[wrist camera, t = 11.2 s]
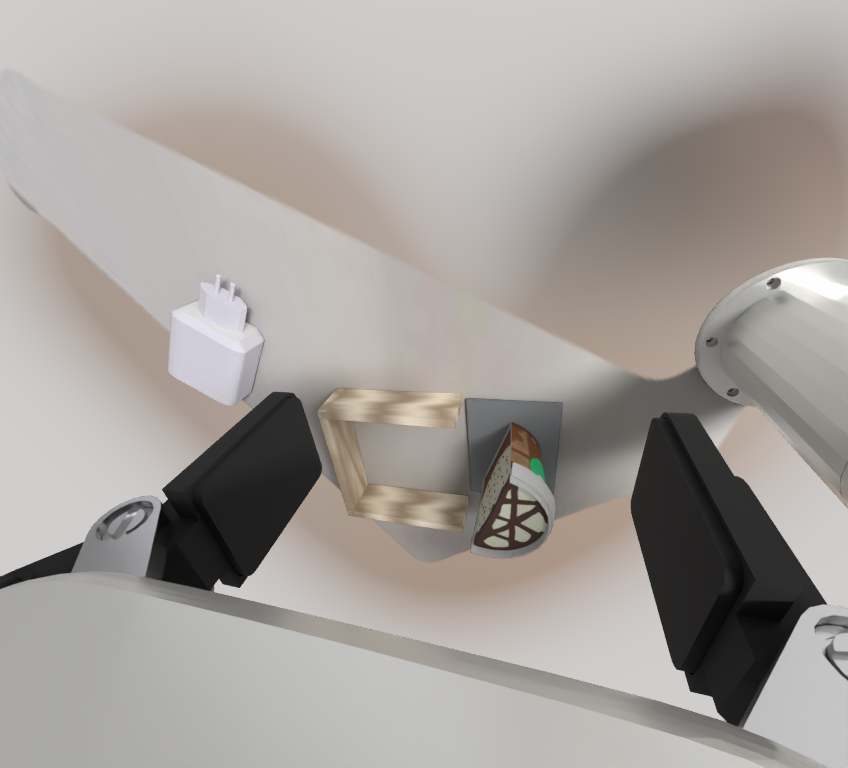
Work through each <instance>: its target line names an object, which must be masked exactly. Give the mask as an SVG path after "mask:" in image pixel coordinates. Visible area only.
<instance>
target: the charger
mask: <svg viewBox="0 0 848 768" xmlns="http://www.w3.org/2000/svg"><path fill="white" fill-rule="evenodd" d="M220 282H221V276H220V275H219V274H217V275H216V278H215V285H212V284H208V283H200V292H199V300H197V301H194V302H192V303H189V304H187V305H184V306H182V307H179V308H177V309H174V310H172V311H171V327H170V346H169V365H168V371H169V373H170V374H171V375H173V376H174V377H175V378H177V379H179V380H181V381H183V382H184V383H186V384H188V385H189V386H191V387H193V388H195V389H197V390H198V391H200V392H202V393H204V394H205V395H207V396H209V397H211V398H213V399H215V400H216V401H218V402H220V403H222V404H225V405H229V406H234V405H236V404H237V403H238V402H239V401H241V400H242V399H243V398H244V397H246V396H247V395H248V394H249V393H251V391H252V387H253V383H254V379H255V375H256V371H257V367H258V363H259V359H260V354H261V350H262V346H263V342H264V339H263V337H262V336H261V334H260V333H259V331H258V330H257V328H255V327H254V326H252V325H250V324H249V323H247V322H245V318H246V313H247V305H246V304H245V303H244V302H243V301H242V299H241V298H239V297H238V296H236V295H234V292H235V286H236V285H235V283H230V289H229V291H227V290H226V289H224V288H222V287H220Z"/></svg>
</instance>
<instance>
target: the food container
mask: <svg viewBox="0 0 848 768" xmlns="http://www.w3.org/2000/svg"><path fill="white" fill-rule="evenodd" d="M555 514H556V504H555V499H554V497H553V495H552V492H551V491H550V489H549V488H548V486H547V485H546V483H545V476H544V469H543V462H542V455H541V450H540V446H539V444H538V442H537V440H536V439H535V437H534V436H533V435H532V434H531V433H530V432H529V431H528V430H526V429H525V428H523V427H522V426H520V425H518V424H516V423H513V422H511V424H510V427H509V429H508V431H507V433H506V435H505V437H504V439H503V441H502V443H501V445H500V447H499V449H498V451H497V453H496V455H495V457H494V459H493V461H492V463H491V465H490V467H489V469H488V471H487V473H486V475H485V477H484V481H483V487H482V492H481V497H480V503H479V508H478V513H477V519H476V524H475V529H474V535H473V537H472V539H471V551H470V552H471V553H474V554H477V555H482V556H485V557H491V558H514V557H520V556H524V555H527V554H529V553H531V552H533V551H535V550H537V549H538V548H539V547H541V545H542V544H543V543H544V542H545V541H546V539H547V538H548V536H549V534H550V532H551V530H552V527H553V523H554V518H555Z"/></svg>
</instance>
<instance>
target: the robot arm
mask: <svg viewBox="0 0 848 768" xmlns="http://www.w3.org/2000/svg"><path fill="white" fill-rule="evenodd" d="M769 280H771V281H770V282H769V283H767V282H768V281H769ZM709 338H710V339H709ZM707 339H709V340H707ZM694 354H695V360H696V366H697V368H698V370H699V372H700V375H701V376H702V378H703V379H704V380H705V382H706V383H707V384H708V385H709V386H710V387H711V388H712V389H713V390H714V391H715V392H716V393H717V394H719V395H720V396H722V397H724V398H725V399H727V400H730V401H733V402H735V403H738V404H741V405H746V406H751V407H757V409H758V410H759V411H760V412H761V413H762V414H763V415H764V416H765V417H766V418H767V420H768V421H769V422H770V423H771V424H772V425H773V426H774V427H775V428H776V430H777V431H778V432H779V433H780V434H781V435H782V436H783V437H784V439H785V440H786V441H787V442H788V443H789V444H790V445H791V446H792V447H793V448H794V450H795V451H796V452H797V453H798V454H799V455H800V456H801V457H802V458H803V460H804V461H805V462H806V463H807V464H808V465H809V466H810V467H811V468H812V470H813V471H814V472H815V473H816V474H817V475H818V476H819V477H820V478H821V480H822V481H823V482H824V483H825V484H826V485H827V486H828V487H829V488H830V489H831V490H832V492H833V493H834V494H835V495H836V496H837V497H838V498H839V499H840V500H841V502H842V503H843V504H844V505H845V506H846V507H847V508H848V260H845V259H838V258H812V259H806V260H801V261H795V262H790V263H787V264H784V265H781V266H778V267H775V268H772V269H769V270H767V271H765V272H763V273H761V274H759V275H756V276H755V277H753V278H750V279H749V280H747V281H746V282H744V283H743V284H741V285H739V286H738V287H736V288H735V289H733V290H732V291H731V292H730V293H729V294H728V295H726V296H725V297H724V298H723V299H722V300H721V301H720V302H719V303H718V304H717V305H716V306H715V307H714V309H713V310H712V311H711V312H710V313H709V314H708V316H707V318H706V319H705V321H704V323H703V324H702V326H701V328H700V330H699V333H698V336H697V339H696V344H695V353H694ZM321 471H322V465H321V462H320V459H319V455H318V452H317V449H316V446H315V443H314V440H313V437H312V434H311V431H310V428H309V425H308V421H307V418H306V415H305V412H304V409H303V406H302V403H301V401H300V399H299V398H297V397H296V396H295V394H293V393H287V392H273V393H271V394H270V395H269V396H268V397H266V398H265V399H264V400H263V401H262V402H261V403H260V404H258V405H257V406H256V407H255V408H254V409H253V410H252V411H250V412H249V413H248V414H247V415H246V416H245V417H244V418H243V419H241V420H240V421H239V422H238V423H237V424H236V425H235V426H234V427H232V428H231V429H230V430H229V431H228V432H227V433H225V434H224V435H223V436H222V437H221V438H220V439H219V440H218V441H216V442H215V443H214V444H213V445H212V446H211V447H210V448H208V449H207V450H206V451H205V452H204V453H203V454H202V455H201V456H199V457H198V458H197V459H196V460H195V461H194V462H193V463H191V465H189V466H188V467H187V468H186V469H185V470H183V471H182V472H181V473H180V474H179V475H178V476H177V477H175V478H174V479H173V480H172V481H171V482H170V483H169V484H167V485H166V486H165V487H164V488H163V489H162V490H163V492H164V493H165V495H166V497H167V498H168V500H167V501H166V502H165V503H164V504H162V503H161V501H160V500H159V499H158V498H157V497H154V496H141V497H137V498H134V499H131V500H128V501H126V502H124V503H121V504H120V505H118V506H116V507H114V508H113V509H111V510H109V511H108V512H107V513H105V514H104V515H103V516H102V517H100V518H99V519H98V521H97V522H96V523H94V525H93V526H92V527H91V529H90V530H89V532H88V534H87V536H86V539H85V541H84V542H83V543H80V544H78V545H76V546H73V547H71V548H68V549H66V550H63V551H61V552H58V553H56V554H53V555H51V556H48V557H46V558H44V559H41V560H39V561H36V562H34V563H31V564H29V565H26V566H24V567H22V568H19V569H17V570H14V571H12V572H10V573H8V574H6V575H3V576H0V768H848V608H845V607H842V606H834V605H827V603H826V602H825V600H824V599H823V597H822V596H821V594H820V593H819V591H818V590H817V588H816V587H815V585H814V584H813V582H812V581H811V579H810V578H809V576H808V575H807V573H806V572H805V570H804V569H803V567H802V566H801V564H800V563H799V561H798V559H797V558H796V557H795V555H794V553H793V552H792V550H791V549H790V547H789V546H788V544H787V543H786V541H785V540H784V538H783V537H782V535H781V534H780V532H779V531H778V529H777V528H776V526H775V525H774V523H773V522H772V520H771V519H770V517H769V516H768V514H767V513H766V511H765V510H764V508H763V507H762V505H761V503H760V502H759V500H758V499H757V497H756V496H755V494H754V493H753V491H752V490H751V488H750V487H749V485H748V484H747V483H746V482H745V481H744V480H743V479H742V478H740V477H737V476H734V475H733V473H732V472H731V470H730V469H729V467H728V465H727V464H726V462H725V461H724V459H723V457H722V456H721V454H720V453H719V451H718V450H717V448H716V446H715V445H714V443H713V442H712V440H711V439H710V437H709V435H708V434H707V432H706V431H705V429H704V428H703V426H702V424H701V423H700V421H699V420H698V418H697V417H696V416H695V415H694V414H686V413H667V412H665V413H663V414H662V415H661V417H660V418H654V419H652V421H651V424H650V428H649V432H648V436H647V440H646V444H645V448H644V451H643V455H642V459H641V463H640V467H639V471H638V475H637V479H636V483H635V487H634V491H633V495H632V499H631V513H632V518H633V521H634V525H635V528H636V532H637V536H638V540H639V543H640V547H641V550H642V554H643V558H644V561H645V565H646V569H647V572H648V575H649V579H650V583H651V587H652V590H653V594H654V598H655V601H656V605H657V609H658V612H659V616H660V619H661V623H662V626H663V630H664V634H665V638H666V641H667V645H668V648H669V652H670V656H671V659H672V662H673V664H674V666H675V668H676V669H677V670H682V671H684V672H685V675H686V679H687V682H688V686H689V689H690V691H691V692H694V693H699V694H703V695H708V696H712V697H713V700H714V703H715V706H716V709H717V712H718V713H719V714H720V715H721V716H722V717H723V718H724V719H725V721H721V720H718V719H714V718H711V717H708V716H705V715H701V714H698V713H695V712H692V711H689V710H685V709H682V708H679V707H676V706H672V705H669V704H666V703H663V702H659V701H656V700H651V699H648V698H644V697H640V696H636V695H633V694H629V693H625V692H621V691H617V690H614V689H610V688H606V687H602V686H598V685H595V684H591V683H587V682H583V681H579V680H576V679H572V678H568V677H564V676H560V675H556V674H552V673H549V672H544V671H540V670H536V669H532V668H528V667H524V666H519V665H516V664H511V663H507V662H503V661H499V660H495V659H491V658H487V657H483V656H479V655H475V654H470V653H467V652H463V651H458V650H454V649H450V648H446V647H442V646H438V645H434V644H430V643H426V642H422V641H418V640H413V639H409V638H405V637H401V636H397V635H393V634H388V633H384V632H380V631H376V630H372V629H367V628H363V627H359V626H355V625H351V624H347V623H343V622H338V621H334V620H329V619H326V618H322V617H317V616H313V615H309V614H305V613H300V612H296V611H292V610H288V609H284V608H279V607H275V606H271V605H266V604H262V603H258V602H254V601H249V600H245V599H241V598H236V597H232V596H228V595H223V594H219V593H215V592H214V584H215V583H216V582H217V580H218V579H220V581H221V582H222V584H225V585H229V586H234V587H238V588H240V587H241V585H242V584H243V583H244V581H245V580H246V578H247V577H248V576H250V575H252V574H253V573H254V572H255V571H256V569H257V568H258V566H259V565H260V564H261V562H262V560H263V559H264V558H265V556H266V555H267V553H268V552H269V550H270V549H271V547H272V546H273V544H274V543H275V541H276V540H277V538H278V537H279V536H280V534H281V533H282V531H283V530H284V528H285V527H286V525H287V524H288V522H289V521H290V520H291V518H292V517H293V515H294V514H295V512H296V511H297V509H298V508H299V506H300V505H301V503H302V502H303V500H304V499H305V497H306V496H307V495H308V493H309V492H310V490H311V489H312V487H313V486H314V484H315V483H316V481H317V480H318V478H319V476H320V475H321Z"/></svg>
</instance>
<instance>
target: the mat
mask: <svg viewBox="0 0 848 768" xmlns="http://www.w3.org/2000/svg"><path fill="white" fill-rule="evenodd" d="M466 404H467V422H468V441H469V459H470V477H471V491H479V492H482V487H483V481H484V477H485V475H486V473H487V471H488V469H489V467H490V465H491V463H492V461H493V459H494V457H495V455H496V453H497V451H498V449H499V447H500V445H501V443H502V441H503V439H504V437H505V435H506V433H507V431H508V429H509V427H510V424H511V422H513V423H516V424H518V425H520V426H522V427H523V428H525V429H526V430H528V431H529V432H530V433H531V434H532V435H533V436H534V437H535V439H536V440H537V442H538V444H539V446H540V450H541V455H542V462H543V469H544V476H545V483H546V485H547V486H548V488H549V489H550V491H551V492H552V495H553V493H554V483H555V473H556V463H557V454H558V444H559V434H560V424H561V415H562V403H558V402H537V401H517V400H497V399H477V398H467V399H466Z"/></svg>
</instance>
